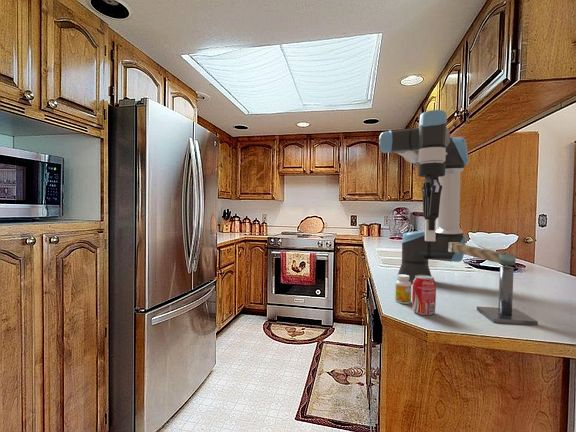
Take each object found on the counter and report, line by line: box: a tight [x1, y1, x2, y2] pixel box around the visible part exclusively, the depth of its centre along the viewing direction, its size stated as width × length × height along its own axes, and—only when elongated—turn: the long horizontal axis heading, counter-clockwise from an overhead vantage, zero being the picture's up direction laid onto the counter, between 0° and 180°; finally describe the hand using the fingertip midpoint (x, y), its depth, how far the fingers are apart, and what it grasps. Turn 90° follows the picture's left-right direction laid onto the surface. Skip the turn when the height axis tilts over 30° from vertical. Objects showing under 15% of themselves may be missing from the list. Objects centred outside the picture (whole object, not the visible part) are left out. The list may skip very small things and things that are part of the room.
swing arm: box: [448, 242, 517, 266], centre depth 115 cm, size 32×4×4 cm, turn 3°
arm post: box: [476, 265, 539, 326], centre depth 102 cm, size 12×12×16 cm
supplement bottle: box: [394, 274, 412, 305], centre depth 117 cm, size 5×5×10 cm
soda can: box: [411, 275, 437, 316], centre depth 105 cm, size 7×7×12 cm
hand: (429, 240), depth 98 cm, fingers closed
